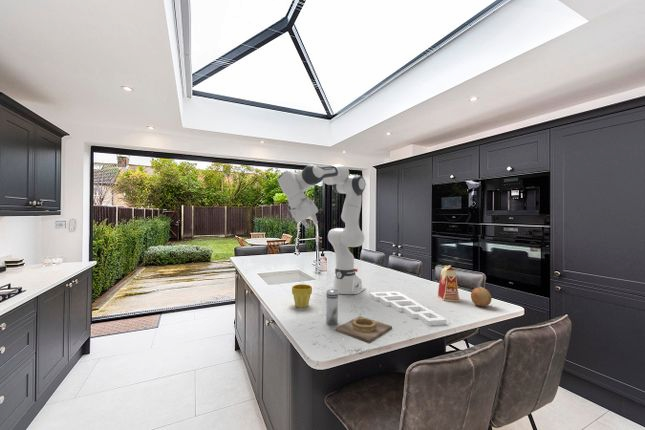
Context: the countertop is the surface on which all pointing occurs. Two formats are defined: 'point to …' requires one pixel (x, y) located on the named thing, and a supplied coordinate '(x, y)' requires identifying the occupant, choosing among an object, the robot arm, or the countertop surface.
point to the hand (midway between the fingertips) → (312, 225)
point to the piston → (332, 307)
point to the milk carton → (448, 285)
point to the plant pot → (301, 294)
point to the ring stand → (364, 328)
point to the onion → (481, 296)
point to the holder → (408, 307)
